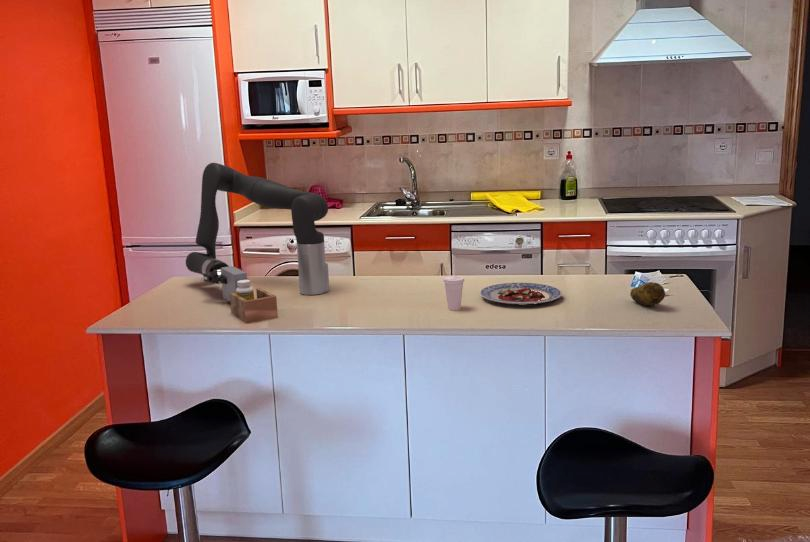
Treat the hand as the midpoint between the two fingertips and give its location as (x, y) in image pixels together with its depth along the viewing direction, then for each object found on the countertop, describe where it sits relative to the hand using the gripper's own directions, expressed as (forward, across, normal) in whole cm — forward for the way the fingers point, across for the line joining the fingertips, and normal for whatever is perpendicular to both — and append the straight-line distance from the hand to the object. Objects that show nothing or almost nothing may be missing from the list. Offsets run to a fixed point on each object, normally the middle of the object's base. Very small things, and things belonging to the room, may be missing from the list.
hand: (232, 279), depth 241 cm
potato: (+83, +99, +8) cm, 130 cm away
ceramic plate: (+52, +76, +8) cm, 93 cm away
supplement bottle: (+10, 0, +8) cm, 13 cm away
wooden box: (+17, 0, +8) cm, 19 cm away
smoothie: (+49, +52, +8) cm, 72 cm away
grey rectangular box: (+1, 0, +7) cm, 7 cm away
